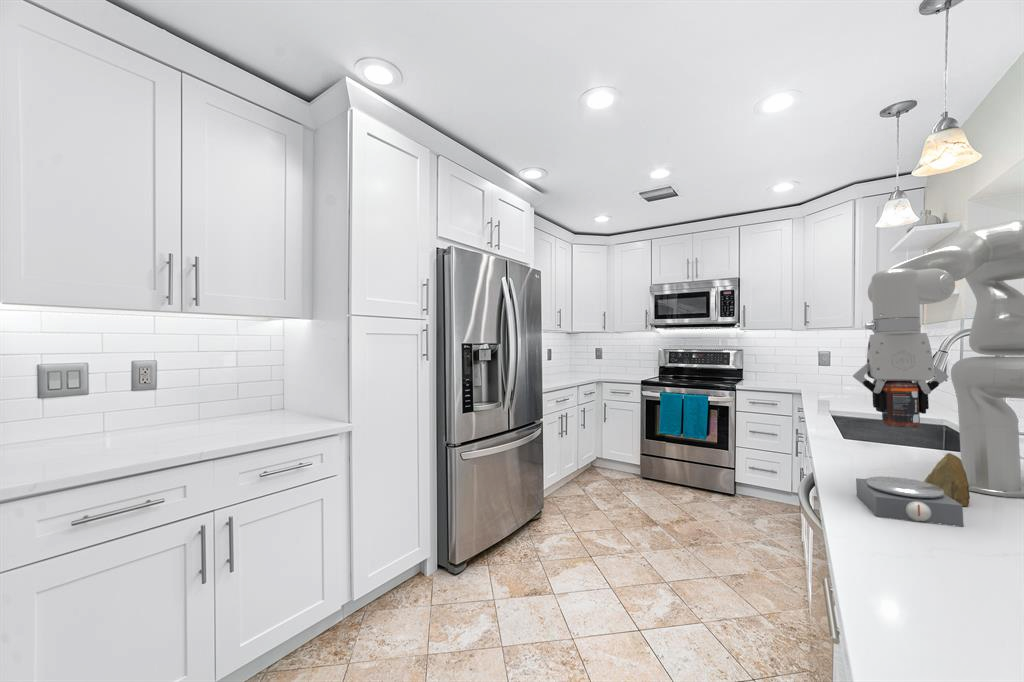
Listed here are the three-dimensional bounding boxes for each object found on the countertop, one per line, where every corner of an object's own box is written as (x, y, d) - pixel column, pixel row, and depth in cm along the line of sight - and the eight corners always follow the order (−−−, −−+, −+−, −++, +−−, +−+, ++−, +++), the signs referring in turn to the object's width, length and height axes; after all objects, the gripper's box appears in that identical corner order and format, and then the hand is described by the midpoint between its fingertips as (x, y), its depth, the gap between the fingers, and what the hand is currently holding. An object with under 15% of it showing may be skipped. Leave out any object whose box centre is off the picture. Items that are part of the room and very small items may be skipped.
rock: (988, 501, 88) (987, 483, 95) (950, 464, 92) (952, 450, 98) (931, 520, 95) (934, 502, 102) (898, 485, 99) (903, 470, 105)
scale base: (856, 495, 100) (856, 478, 100) (930, 503, 94) (929, 484, 94) (877, 517, 87) (876, 497, 87) (964, 527, 81) (963, 506, 81)
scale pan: (859, 477, 99) (859, 474, 99) (928, 483, 93) (928, 480, 93) (877, 493, 88) (876, 489, 88) (956, 501, 83) (956, 497, 83)
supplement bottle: (927, 428, 87) (925, 373, 88) (894, 428, 89) (891, 373, 89) (907, 423, 93) (905, 371, 94) (875, 423, 94) (873, 372, 95)
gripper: (851, 328, 92) (854, 412, 91) (959, 324, 84) (964, 416, 84) (842, 329, 99) (845, 408, 98) (942, 326, 91) (946, 411, 91)
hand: (900, 411), depth 91 cm, fingers closed on supplement bottle, 6 cm apart
